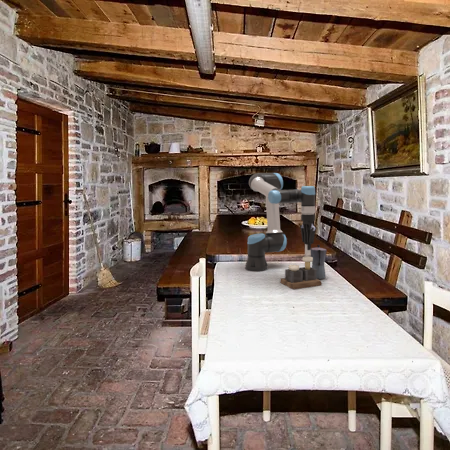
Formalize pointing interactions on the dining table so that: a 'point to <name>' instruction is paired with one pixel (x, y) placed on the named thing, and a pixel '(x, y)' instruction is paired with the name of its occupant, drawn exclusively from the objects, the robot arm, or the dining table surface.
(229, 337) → the dining table surface
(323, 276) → the moka pot
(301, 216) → the robot arm
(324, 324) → the dining table surface
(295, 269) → the plunger near
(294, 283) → the mount
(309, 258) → the plunger far
